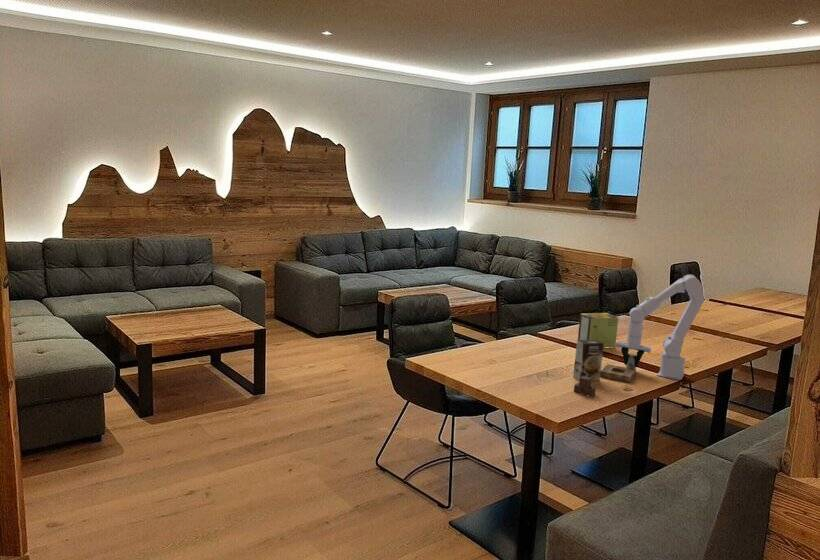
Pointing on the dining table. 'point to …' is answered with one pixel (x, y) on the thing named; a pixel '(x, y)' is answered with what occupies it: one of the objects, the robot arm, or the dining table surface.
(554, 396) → the dining table surface
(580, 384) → the stack of crates
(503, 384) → the dining table surface
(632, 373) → the socket block
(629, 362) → the pin
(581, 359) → the coffee box
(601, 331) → the protein box
